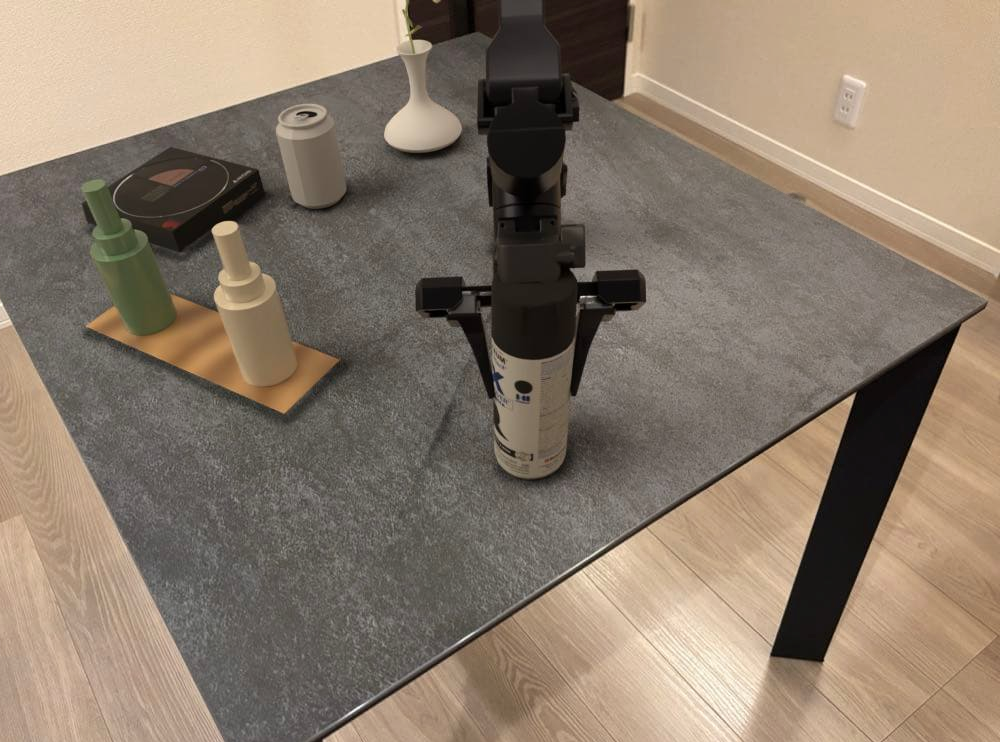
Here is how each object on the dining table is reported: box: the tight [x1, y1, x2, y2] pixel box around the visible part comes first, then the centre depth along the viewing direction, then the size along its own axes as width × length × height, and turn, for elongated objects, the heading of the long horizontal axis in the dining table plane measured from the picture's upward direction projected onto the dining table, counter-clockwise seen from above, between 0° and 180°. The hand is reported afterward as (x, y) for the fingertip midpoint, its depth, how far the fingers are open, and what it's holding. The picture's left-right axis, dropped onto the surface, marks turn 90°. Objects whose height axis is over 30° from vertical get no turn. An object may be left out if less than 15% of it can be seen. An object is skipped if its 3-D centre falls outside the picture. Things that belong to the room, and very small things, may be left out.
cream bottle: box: [211, 220, 298, 387], centre depth 81 cm, size 6×6×17 cm
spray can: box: [490, 268, 578, 481], centre depth 69 cm, size 7×7×20 cm
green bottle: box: [80, 178, 177, 336], centre depth 88 cm, size 6×6×17 cm
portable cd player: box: [81, 146, 266, 253], centre depth 111 cm, size 16×17×4 cm
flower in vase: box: [383, 0, 463, 154], centre depth 113 cm, size 13×11×25 cm
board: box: [85, 293, 341, 415], centre depth 91 cm, size 30×9×1 cm, turn 58°
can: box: [275, 103, 347, 210], centre depth 108 cm, size 8×8×12 cm
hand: (532, 397), depth 69 cm, fingers closed on spray can, 6 cm apart
